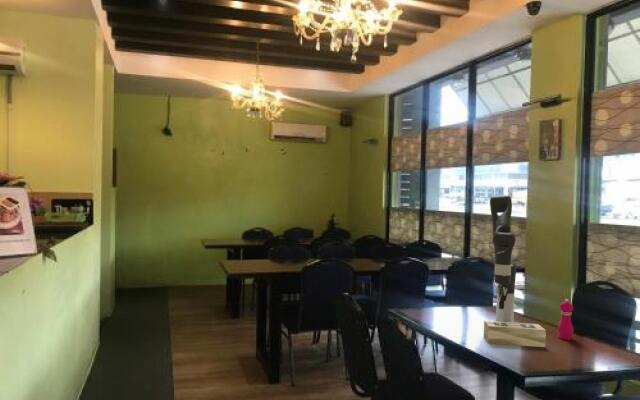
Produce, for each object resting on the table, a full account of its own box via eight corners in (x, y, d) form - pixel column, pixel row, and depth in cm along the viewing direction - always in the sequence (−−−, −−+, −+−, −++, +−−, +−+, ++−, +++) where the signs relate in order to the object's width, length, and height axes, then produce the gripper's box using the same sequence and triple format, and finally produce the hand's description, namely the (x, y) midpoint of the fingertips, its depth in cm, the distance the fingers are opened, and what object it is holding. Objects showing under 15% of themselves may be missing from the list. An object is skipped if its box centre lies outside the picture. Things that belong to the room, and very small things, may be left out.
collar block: (483, 336, 255) (484, 320, 255) (537, 340, 252) (538, 324, 252) (488, 343, 243) (489, 326, 243) (545, 347, 240) (545, 330, 240)
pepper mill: (574, 340, 255) (576, 300, 255) (559, 339, 256) (561, 299, 256) (570, 336, 262) (572, 298, 262) (555, 335, 263) (557, 297, 263)
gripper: (491, 271, 255) (490, 305, 256) (497, 275, 242) (496, 311, 242) (507, 271, 254) (506, 306, 255) (514, 276, 241) (512, 312, 241)
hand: (501, 308), depth 249 cm, fingers closed
